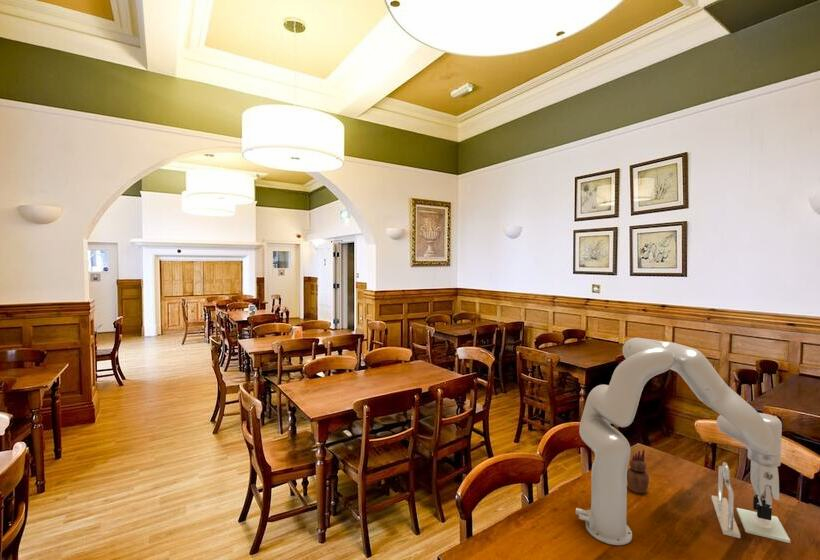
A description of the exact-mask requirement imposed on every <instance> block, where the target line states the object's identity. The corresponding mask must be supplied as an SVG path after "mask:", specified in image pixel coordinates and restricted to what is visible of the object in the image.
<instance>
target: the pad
mask: <svg viewBox="0 0 820 560" xmlns="http://www.w3.org/2000/svg"><path fill="white" fill-rule="evenodd" d="M736 512H737V515H738V517H739V520H740V522H741V525H742V527H743V530H744V532H745V533H747V534H751V535H754V536H759V537H764V538H768V539H772V540H774V541H775V540H776V541H780V542H784V543H787V544H791V539H790V537H789V535H788V533H787V532H786V529H785V528H784V526H783V524H782V523H781V521H780V519H779V518H778V516H776V515H771V520H769V521H770V522H771V523H772V528H762V527H759V526H757V525H755V524H754V523H752V521H751V517H752V516H757V511H753V510H749V509H745V508H739V507H736Z"/></svg>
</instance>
